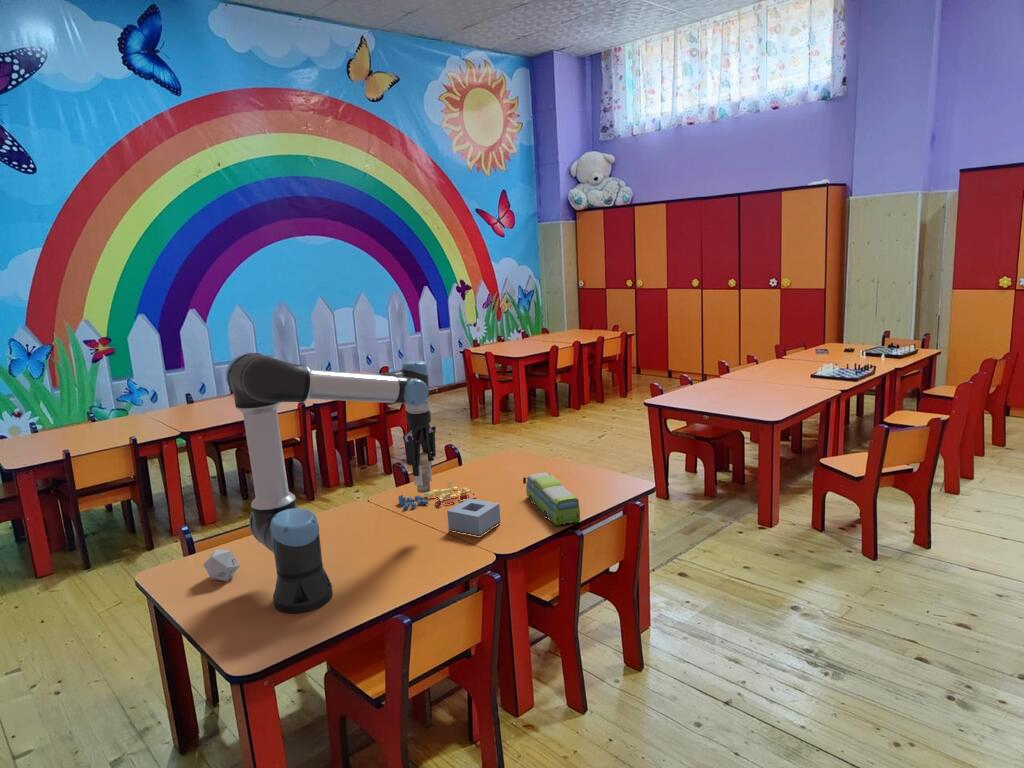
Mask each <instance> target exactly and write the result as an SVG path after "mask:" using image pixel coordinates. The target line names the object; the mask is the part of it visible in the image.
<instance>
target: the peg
mask: <svg viewBox="0 0 1024 768" xmlns="http://www.w3.org/2000/svg"><path fill="white" fill-rule="evenodd" d="M415 462H416V461H415ZM419 465H421V468H422V482H423V485H422V486H418V485H416V486H417V488H416V489H417V492H418V493H420V494H422V493H423V494H424V493H426V492H429V491H431V482H430V480H429V465H428V453H425V452H423V451H422V452H421V451H420V462H419Z"/></svg>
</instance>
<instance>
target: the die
mask: <svg viewBox="0 0 1024 768" xmlns="http://www.w3.org/2000/svg"><path fill="white" fill-rule="evenodd" d="M202 565H203V567H204V569H205V570H206V572H207V574H208V576H209V577H210V578H211V580H212V581H213V580H214V581H215V580H216V581H222V582H228V581H229V580H230V579H231V578H232V576H233V575H234V574H235V573H236V572H237V570H238V569H239V568H240V566H241V565H240V563H239V562H238V560H237V558H236V556H235V555H234V553H233V552H232V550H227V549H219V548H216V549H215V550H214V551H213V552H212V553H211V555H210V556H209V557H208V558H207V559H206V560H205V562H203V564H202Z"/></svg>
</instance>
